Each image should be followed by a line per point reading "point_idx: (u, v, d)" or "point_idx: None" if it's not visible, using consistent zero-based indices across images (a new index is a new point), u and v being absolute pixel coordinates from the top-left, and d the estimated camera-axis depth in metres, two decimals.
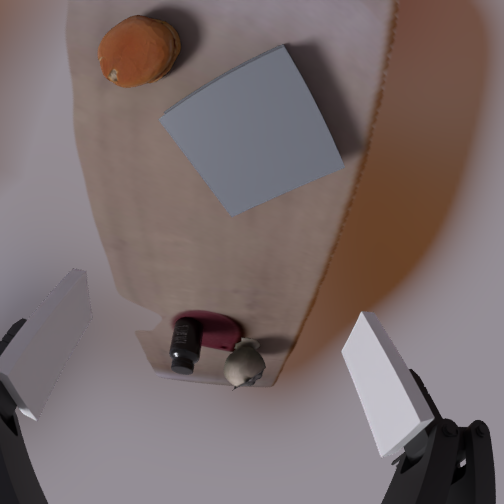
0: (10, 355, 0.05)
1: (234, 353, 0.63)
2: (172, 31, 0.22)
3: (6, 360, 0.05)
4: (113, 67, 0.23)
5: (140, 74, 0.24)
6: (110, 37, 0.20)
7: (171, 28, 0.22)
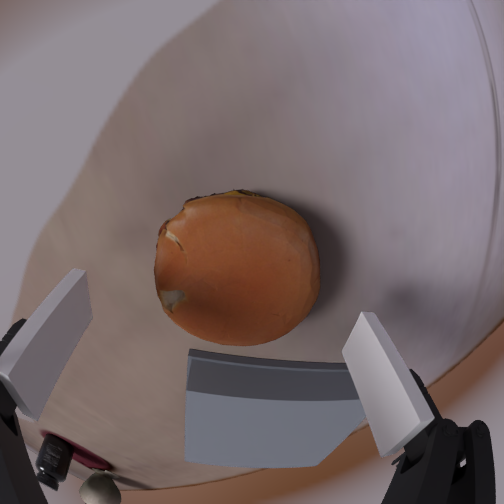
0: (10, 355, 0.05)
1: (95, 480, 0.36)
2: None
3: (6, 360, 0.05)
4: (184, 290, 0.14)
5: (218, 339, 0.15)
6: (236, 233, 0.12)
7: None
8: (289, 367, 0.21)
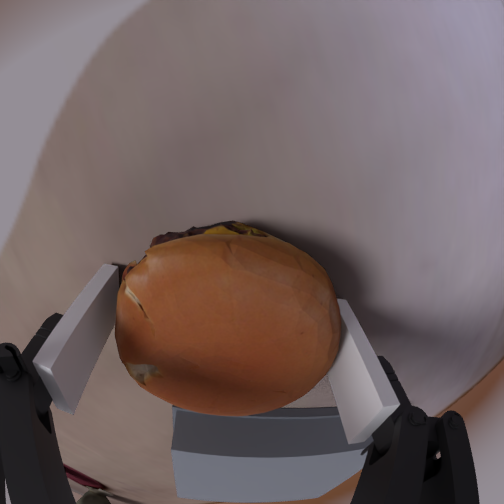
0: (51, 348, 0.06)
1: (89, 499, 0.30)
2: None
3: (47, 353, 0.06)
4: (156, 365, 0.09)
5: (206, 412, 0.11)
6: (224, 299, 0.08)
7: None
8: (291, 416, 0.17)
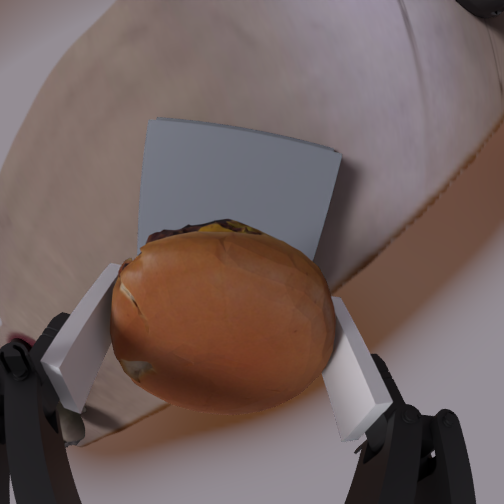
0: (59, 347, 0.07)
1: (57, 406, 0.37)
2: None
3: (55, 352, 0.06)
4: (150, 361, 0.09)
5: (200, 410, 0.11)
6: (217, 296, 0.08)
7: None
8: (245, 128, 0.23)
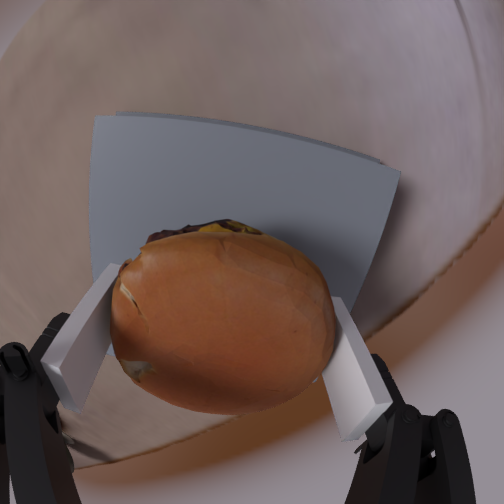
0: (59, 347, 0.07)
1: None
2: None
3: (55, 352, 0.06)
4: (150, 362, 0.09)
5: (200, 410, 0.11)
6: (217, 297, 0.08)
7: None
8: (249, 125, 0.15)
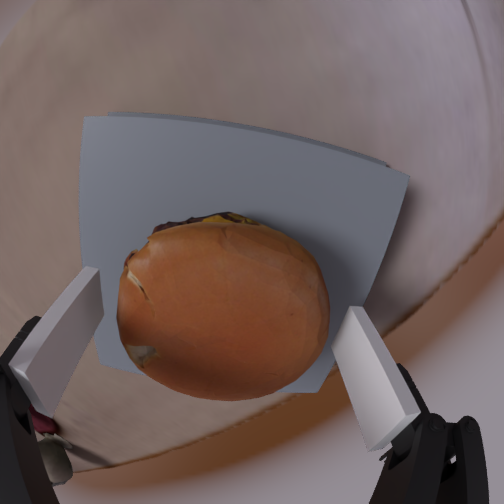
0: (26, 352, 0.06)
1: (41, 445, 0.27)
2: None
3: (22, 357, 0.06)
4: (155, 346, 0.10)
5: (202, 396, 0.11)
6: (219, 280, 0.09)
7: None
8: None
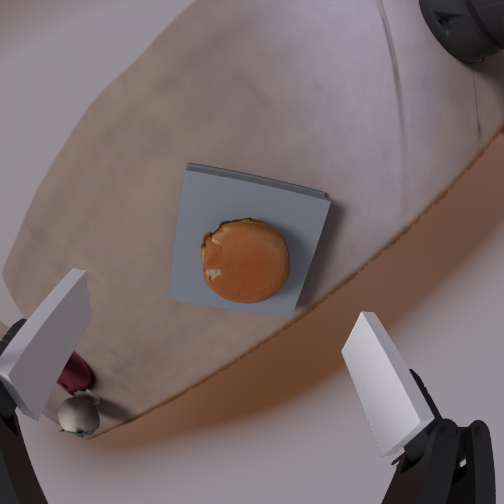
0: (10, 355, 0.05)
1: (75, 399, 0.43)
2: None
3: (6, 360, 0.05)
4: (220, 269, 0.27)
5: (235, 297, 0.29)
6: (249, 241, 0.26)
7: None
8: (257, 176, 0.31)
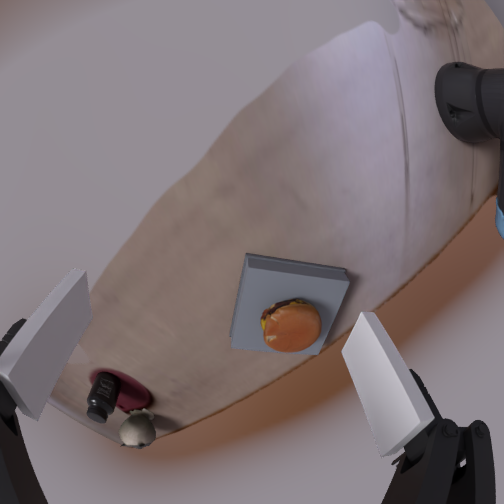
0: (10, 355, 0.05)
1: (134, 418, 0.56)
2: None
3: (6, 360, 0.05)
4: (276, 335, 0.39)
5: (284, 350, 0.41)
6: (297, 319, 0.38)
7: None
8: (297, 263, 0.43)
